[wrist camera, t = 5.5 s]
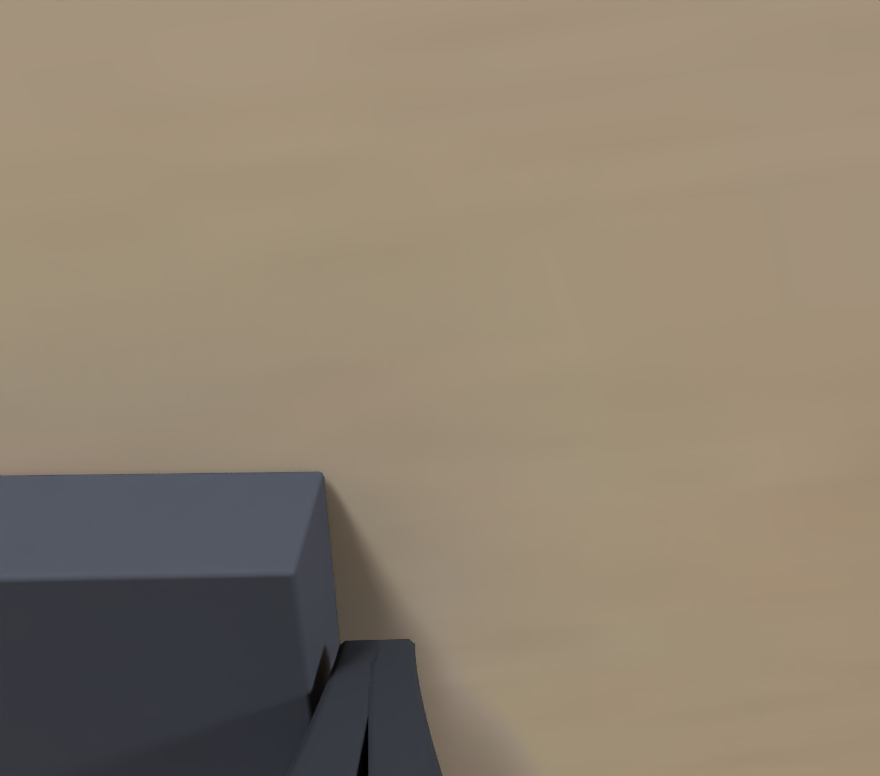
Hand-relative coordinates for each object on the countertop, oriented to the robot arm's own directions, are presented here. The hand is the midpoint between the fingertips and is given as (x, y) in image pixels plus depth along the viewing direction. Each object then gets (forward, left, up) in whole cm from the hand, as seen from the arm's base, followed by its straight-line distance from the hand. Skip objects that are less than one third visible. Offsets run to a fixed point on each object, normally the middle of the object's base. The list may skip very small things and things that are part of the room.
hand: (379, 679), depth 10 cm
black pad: (0, +4, -1) cm, 5 cm away
